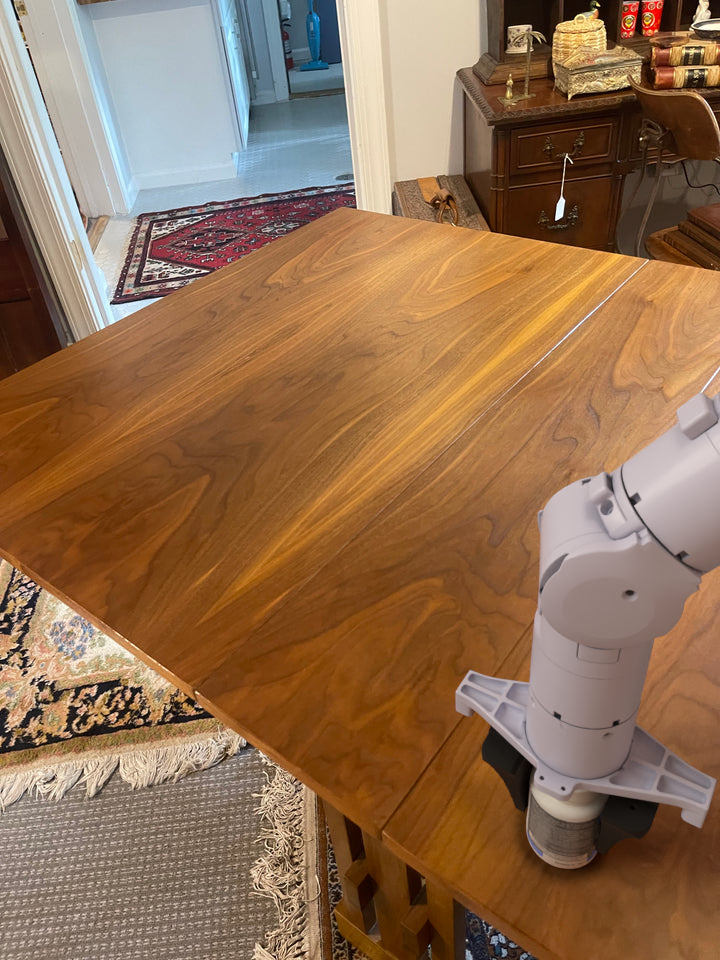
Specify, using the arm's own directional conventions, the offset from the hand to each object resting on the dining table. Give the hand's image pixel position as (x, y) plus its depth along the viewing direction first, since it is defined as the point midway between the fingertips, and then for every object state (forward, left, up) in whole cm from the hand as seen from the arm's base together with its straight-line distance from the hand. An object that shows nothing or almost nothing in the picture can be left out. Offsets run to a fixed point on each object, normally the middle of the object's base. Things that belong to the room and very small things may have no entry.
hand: (564, 817), depth 47 cm
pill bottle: (0, 0, -2) cm, 2 cm away
